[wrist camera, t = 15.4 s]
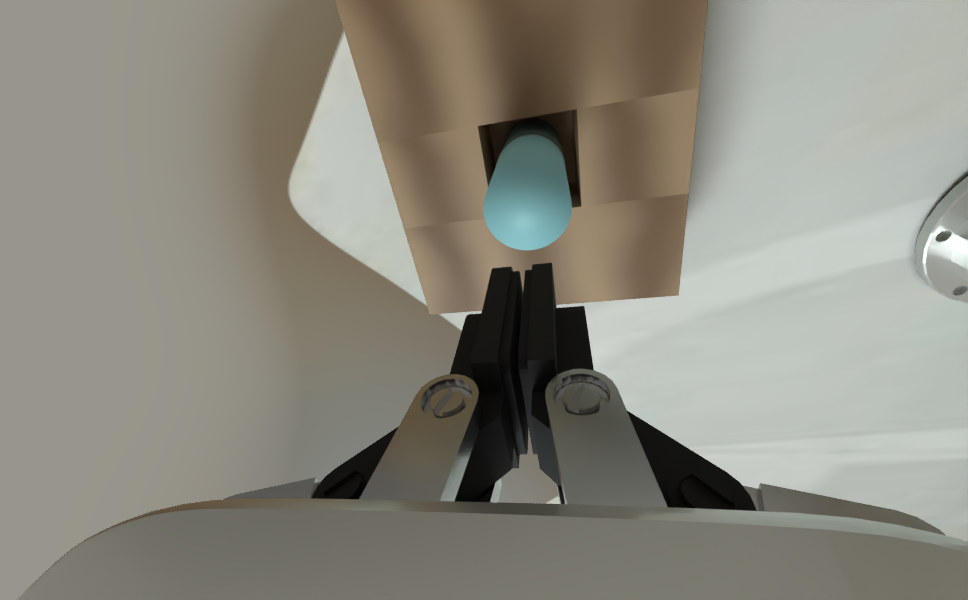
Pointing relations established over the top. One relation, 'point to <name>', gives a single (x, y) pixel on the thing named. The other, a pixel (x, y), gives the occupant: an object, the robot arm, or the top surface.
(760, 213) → the top surface
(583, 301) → the socket block
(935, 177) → the top surface
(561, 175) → the peg
